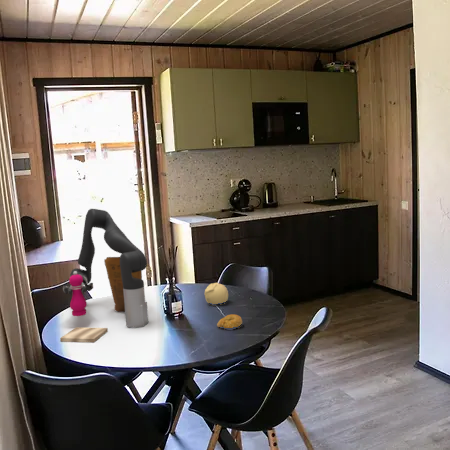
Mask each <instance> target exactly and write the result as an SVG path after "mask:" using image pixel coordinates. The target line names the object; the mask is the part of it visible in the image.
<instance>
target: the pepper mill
mask: <svg viewBox="0 0 450 450" xmlns="http://www.w3.org/2000/svg"><path fill="white" fill-rule="evenodd" d="M73 274H74V275H72V276H71V277H70V276H69V279H68V283H69V285H70V284H71V285H72V286H71V289H72V292H73V293H72V295H71V300H70V303H69V308H70V309H71V310H72V311H71V315H72V317H81V316H85V315H86V314H87V309H86V308H87V306H88V304H87V303H88V302H87V300H86V298H85V296H84V294H83V293H82V282H83V278H82V276H81V275H78V274H77V271H74V272H73Z"/></svg>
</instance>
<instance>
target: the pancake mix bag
mask: <svg viewBox="0 0 450 450" xmlns="http://www.w3.org/2000/svg"><path fill="white" fill-rule="evenodd" d="M103 262H104V265H105V269H106V274H107V279H108V283H109V286H110V291H111V294H112V298H113V302H114V311H116V312H118V313H119V312H120V313H125V305H124V291H123V283H122V277H121V269H120V256H108V257H106V258H104V261H103ZM142 272H143V270H142V271H138V272H133V273H132V277H134V278H138V279H142V280H143V275H142Z"/></svg>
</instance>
